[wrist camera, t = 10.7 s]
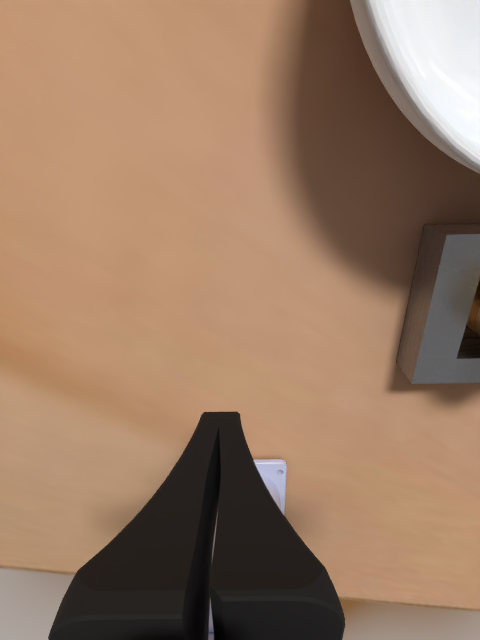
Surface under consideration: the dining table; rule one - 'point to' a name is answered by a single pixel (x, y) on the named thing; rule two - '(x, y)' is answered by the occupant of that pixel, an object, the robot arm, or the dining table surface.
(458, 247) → the frame
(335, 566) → the dining table surface
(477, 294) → the brass cylinder
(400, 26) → the serving bowl
